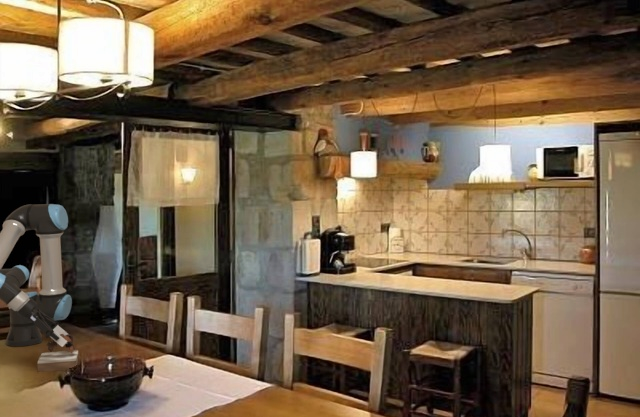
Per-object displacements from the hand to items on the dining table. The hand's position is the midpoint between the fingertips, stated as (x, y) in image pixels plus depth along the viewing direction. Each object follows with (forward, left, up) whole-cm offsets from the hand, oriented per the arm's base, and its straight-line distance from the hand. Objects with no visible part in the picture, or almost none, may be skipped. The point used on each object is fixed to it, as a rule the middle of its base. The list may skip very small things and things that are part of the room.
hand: (66, 341), depth 247 cm
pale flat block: (0, -3, -10) cm, 10 cm away
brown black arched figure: (0, -1, -4) cm, 5 cm away
